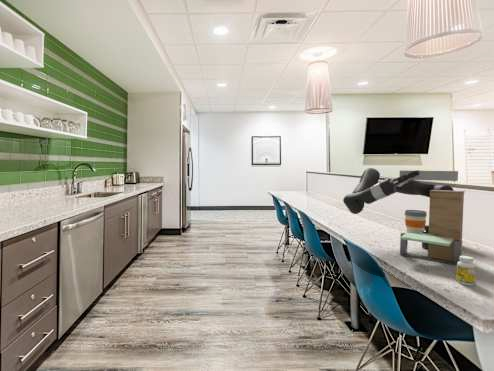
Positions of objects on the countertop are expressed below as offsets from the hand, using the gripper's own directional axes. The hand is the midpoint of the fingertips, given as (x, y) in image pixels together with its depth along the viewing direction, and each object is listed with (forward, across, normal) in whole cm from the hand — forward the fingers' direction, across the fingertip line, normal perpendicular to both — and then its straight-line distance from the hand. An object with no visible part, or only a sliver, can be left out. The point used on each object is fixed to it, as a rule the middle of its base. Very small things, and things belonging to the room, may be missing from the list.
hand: (419, 172), depth 125 cm
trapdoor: (-12, -4, -28) cm, 31 cm away
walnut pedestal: (-13, -16, -40) cm, 45 cm away
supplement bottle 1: (-21, -32, -35) cm, 52 cm away
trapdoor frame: (-17, -10, -37) cm, 42 cm away
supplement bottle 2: (-4, +14, -45) cm, 47 cm away
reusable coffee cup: (-33, -67, -29) cm, 80 cm away
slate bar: (+1, 0, -4) cm, 5 cm away
